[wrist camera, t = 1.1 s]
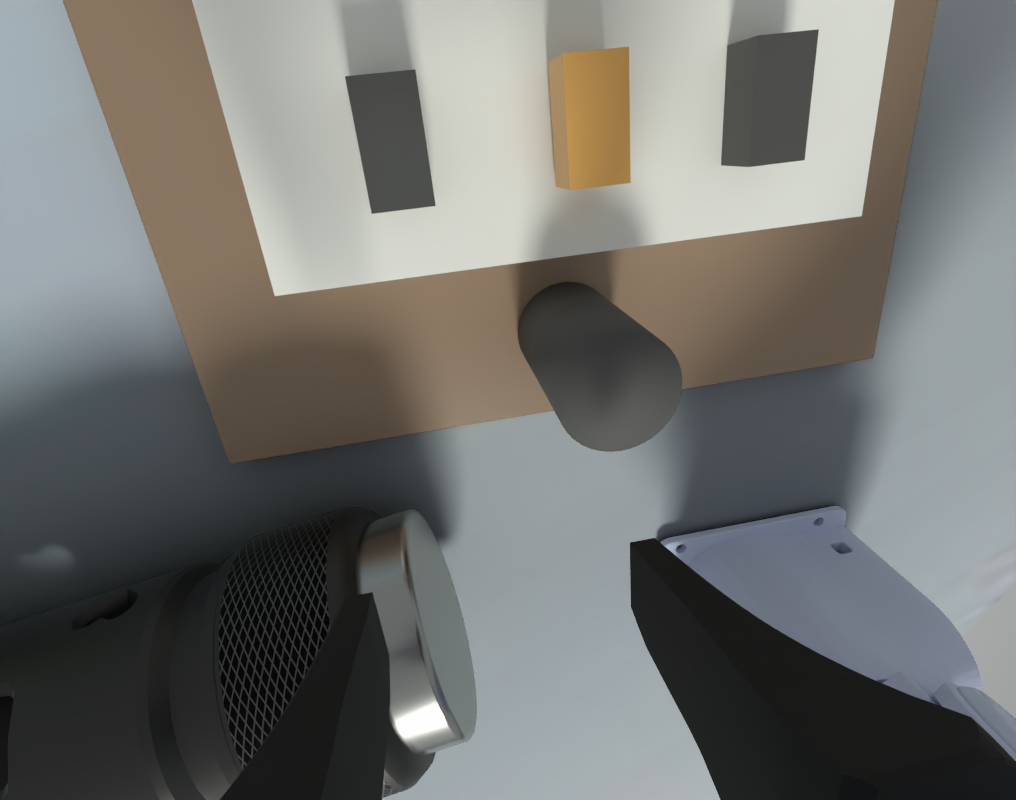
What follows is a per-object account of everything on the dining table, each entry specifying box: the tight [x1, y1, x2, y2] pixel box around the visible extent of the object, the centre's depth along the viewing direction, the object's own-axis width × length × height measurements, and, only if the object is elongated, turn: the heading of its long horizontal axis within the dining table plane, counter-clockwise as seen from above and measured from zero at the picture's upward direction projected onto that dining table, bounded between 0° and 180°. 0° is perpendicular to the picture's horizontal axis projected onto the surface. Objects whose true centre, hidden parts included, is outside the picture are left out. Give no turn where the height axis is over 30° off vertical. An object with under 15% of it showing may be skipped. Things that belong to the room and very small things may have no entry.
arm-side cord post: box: [518, 282, 682, 451], centre depth 18 cm, size 4×4×6 cm
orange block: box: [548, 47, 631, 190], centre depth 15 cm, size 2×3×2 cm, turn 6°
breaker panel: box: [63, 0, 937, 464], centre depth 17 cm, size 26×20×6 cm
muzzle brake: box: [0, 507, 477, 800], centre depth 20 cm, size 10×28×10 cm
